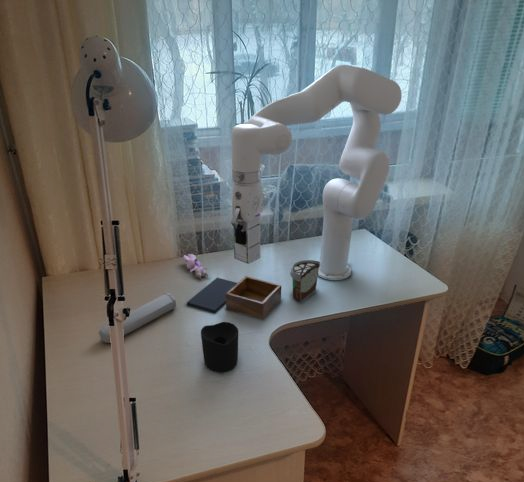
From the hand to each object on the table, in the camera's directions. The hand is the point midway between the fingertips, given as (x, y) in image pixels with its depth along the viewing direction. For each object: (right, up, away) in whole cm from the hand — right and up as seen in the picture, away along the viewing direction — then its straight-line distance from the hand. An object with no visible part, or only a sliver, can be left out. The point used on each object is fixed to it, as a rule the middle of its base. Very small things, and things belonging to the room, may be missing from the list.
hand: (247, 238), depth 142 cm
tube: (-31, -25, +2) cm, 40 cm away
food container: (+17, -14, +18) cm, 28 cm away
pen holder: (-6, -35, -11) cm, 38 cm away
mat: (-10, -15, +16) cm, 24 cm away
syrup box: (0, -5, +4) cm, 6 cm away
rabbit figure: (-19, -5, +29) cm, 35 cm away
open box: (+2, -18, +12) cm, 22 cm away
